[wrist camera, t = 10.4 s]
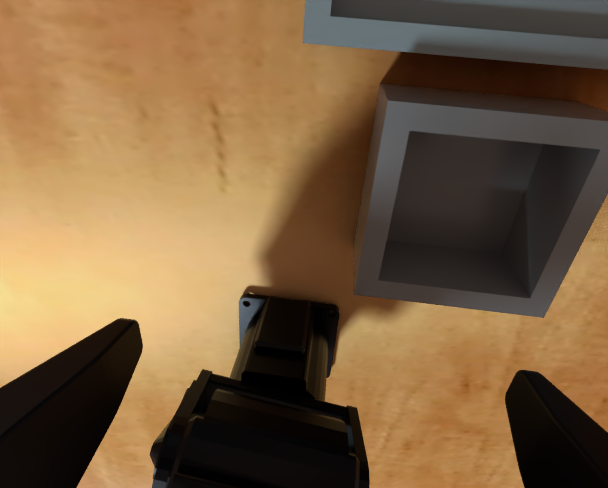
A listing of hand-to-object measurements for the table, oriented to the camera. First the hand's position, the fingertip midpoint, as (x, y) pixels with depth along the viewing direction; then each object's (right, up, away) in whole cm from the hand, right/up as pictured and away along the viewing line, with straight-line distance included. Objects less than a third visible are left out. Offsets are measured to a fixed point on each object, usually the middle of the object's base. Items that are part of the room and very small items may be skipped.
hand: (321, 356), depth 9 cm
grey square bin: (+7, +6, +11) cm, 14 cm away
